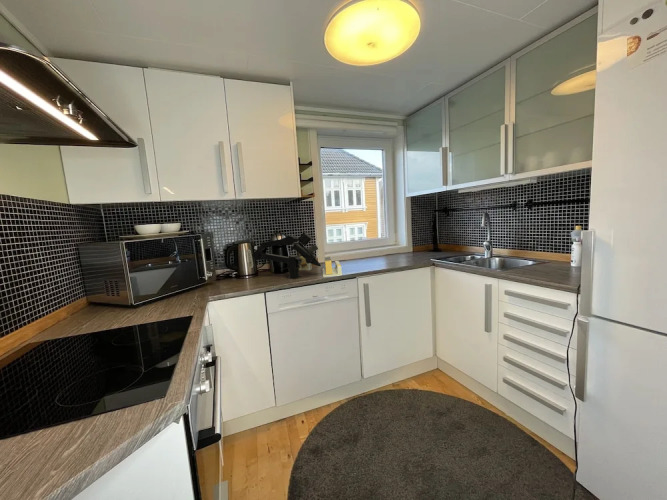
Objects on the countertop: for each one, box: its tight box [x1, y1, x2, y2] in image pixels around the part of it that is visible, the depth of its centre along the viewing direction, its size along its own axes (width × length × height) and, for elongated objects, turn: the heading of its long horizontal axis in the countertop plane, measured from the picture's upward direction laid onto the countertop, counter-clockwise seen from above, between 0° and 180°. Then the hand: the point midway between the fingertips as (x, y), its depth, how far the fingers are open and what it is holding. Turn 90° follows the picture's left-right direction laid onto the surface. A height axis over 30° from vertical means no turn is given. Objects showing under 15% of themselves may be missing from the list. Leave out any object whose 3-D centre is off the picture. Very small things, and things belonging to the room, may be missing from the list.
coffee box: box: [296, 247, 313, 271], centre depth 207 cm, size 9×6×16 cm
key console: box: [322, 260, 343, 278], centre depth 188 cm, size 12×28×6 cm, turn 3°
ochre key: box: [324, 260, 333, 274], centre depth 178 cm, size 4×6×8 cm, turn 3°
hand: (320, 265), depth 177 cm, fingers closed
